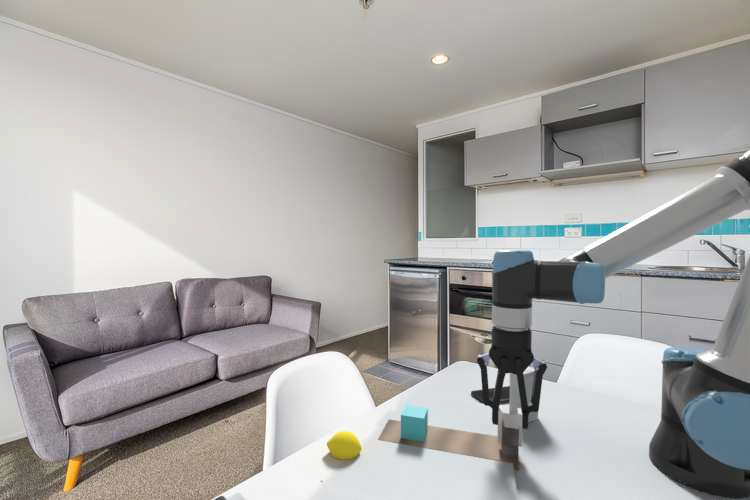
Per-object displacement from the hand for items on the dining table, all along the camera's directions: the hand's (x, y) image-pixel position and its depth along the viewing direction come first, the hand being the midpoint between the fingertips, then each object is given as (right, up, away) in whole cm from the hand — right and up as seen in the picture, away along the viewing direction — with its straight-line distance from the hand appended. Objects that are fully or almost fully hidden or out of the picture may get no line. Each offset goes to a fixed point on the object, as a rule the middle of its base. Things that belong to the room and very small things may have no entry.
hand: (509, 441), depth 73 cm
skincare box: (+9, -3, +16) cm, 19 cm away
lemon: (-33, -3, -1) cm, 34 cm away
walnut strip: (-12, -3, +4) cm, 13 cm away
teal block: (-19, -1, +6) cm, 20 cm away
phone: (+8, -3, +28) cm, 29 cm away
